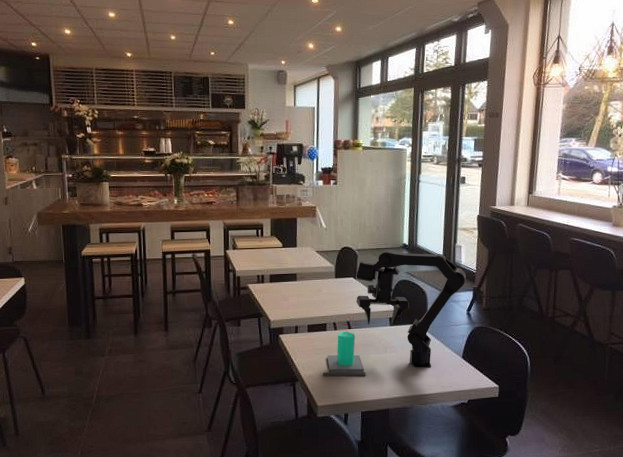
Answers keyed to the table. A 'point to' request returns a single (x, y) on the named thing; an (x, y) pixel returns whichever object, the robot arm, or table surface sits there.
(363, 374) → the dark grey bar
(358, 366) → the slate coaster
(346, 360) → the candle
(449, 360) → the table surface
